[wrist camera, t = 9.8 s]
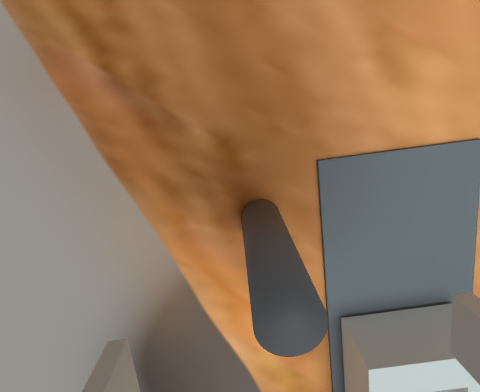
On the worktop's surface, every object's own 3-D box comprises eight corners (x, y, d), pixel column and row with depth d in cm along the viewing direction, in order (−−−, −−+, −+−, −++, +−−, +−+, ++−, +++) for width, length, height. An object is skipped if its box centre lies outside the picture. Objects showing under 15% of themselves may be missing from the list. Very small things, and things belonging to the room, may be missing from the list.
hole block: (341, 318, 29) (368, 370, 24) (453, 303, 29) (508, 351, 24) (345, 407, 32) (371, 473, 26) (448, 393, 32) (497, 457, 26)
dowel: (239, 201, 27) (248, 296, 14) (277, 196, 27) (325, 287, 14) (243, 238, 28) (257, 361, 15) (281, 233, 28) (330, 351, 15)
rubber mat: (317, 160, 26) (318, 160, 26) (479, 138, 26) (482, 139, 26) (334, 418, 33) (335, 422, 33) (462, 401, 33) (465, 405, 33)
